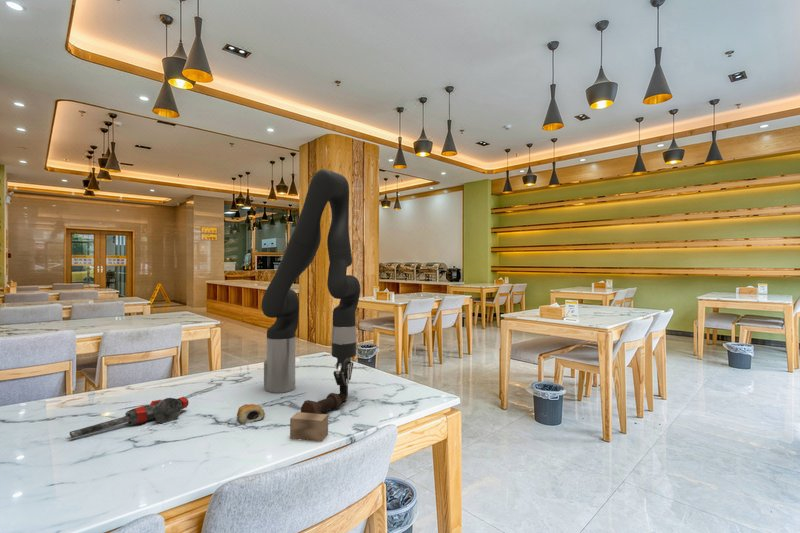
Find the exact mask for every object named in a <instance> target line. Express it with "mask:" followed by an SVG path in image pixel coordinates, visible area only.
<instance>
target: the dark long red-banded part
mask: <svg viewBox="0 0 800 533" xmlns="http://www.w3.org/2000/svg"><path fill="white" fill-rule="evenodd" d="M189 404H190V402H189V399H188V398H187V397H186V396H181V397H178V398H174V397H166V398H164V399H157V400H156V399H155V400H152V401H151V402H150V404H148V405H142V406H138V407H135V408H132V409H129V410H127V411H126V412H125V416H122V417H118V418H115V419H111V420H108V421H105V422H100V423H96V424H94V425H93V424H92V425H89V426H86V427H83V428H79V429H75V430H72V431H69V436H70V439H74V438H78V437H80V436H85V435H88V434H91V433H94V432H95V433H96V432H98V431H99V432H100V431H102V430H105V429H108V428H113V427H115V426H119V425H122V424H123V425H124V424H126V423H129V425H131V426H132V425H140V424H145V423H147V421H149V420H152V419H155V420H156V421H157V422H158V423H161V424H166V423H170V422H174V421H176V420H177V419H178V418H179V417H180V415H181V412H182V410H184V409H186V408H188V407H189Z"/></svg>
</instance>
